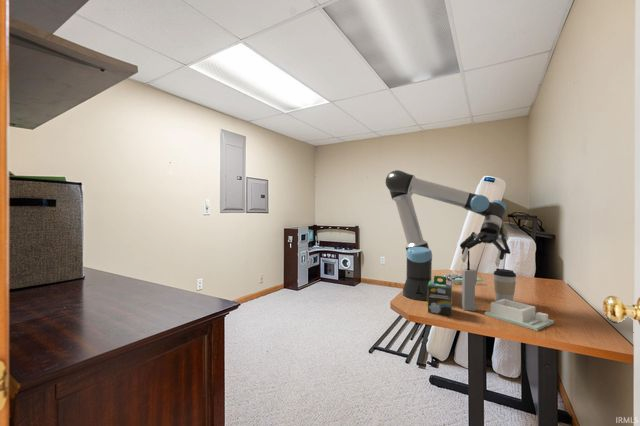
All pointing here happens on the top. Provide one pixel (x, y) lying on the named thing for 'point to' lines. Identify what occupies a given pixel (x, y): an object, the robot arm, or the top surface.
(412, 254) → the robot arm
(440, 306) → the chalk box
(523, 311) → the architectural building model
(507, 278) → the coffee cup
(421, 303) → the top surface
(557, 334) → the top surface
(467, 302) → the vintage mobile phone
